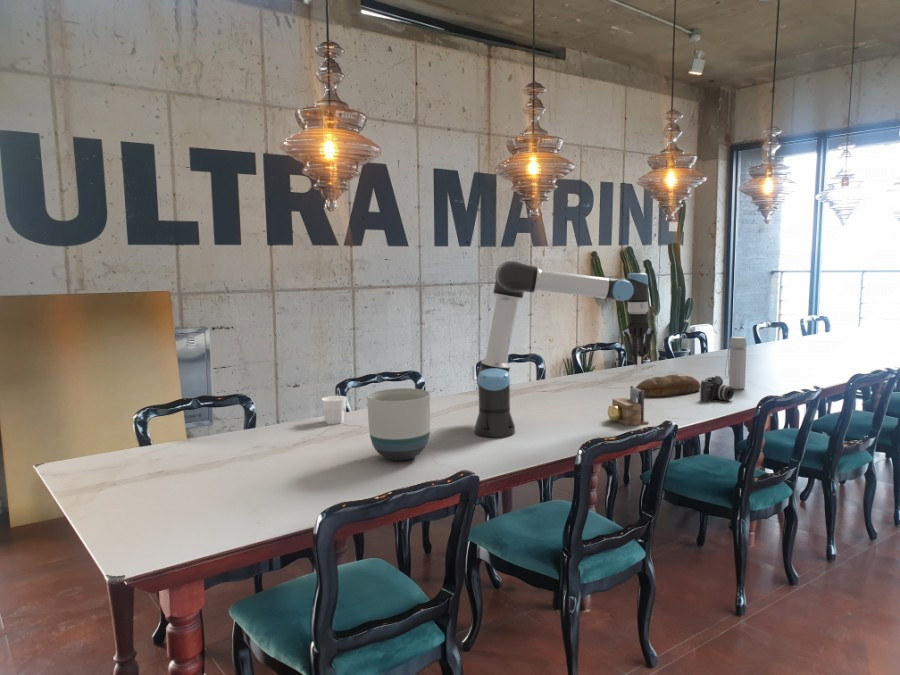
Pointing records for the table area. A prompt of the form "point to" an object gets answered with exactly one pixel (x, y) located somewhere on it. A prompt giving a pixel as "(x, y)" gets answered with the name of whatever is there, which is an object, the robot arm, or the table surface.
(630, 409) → the block
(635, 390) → the keeper
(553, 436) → the table surface
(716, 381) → the camera
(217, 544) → the table surface
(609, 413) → the pin
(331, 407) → the cup
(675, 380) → the bread
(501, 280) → the robot arm
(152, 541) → the table surface
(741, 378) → the water bottle
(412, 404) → the planter
